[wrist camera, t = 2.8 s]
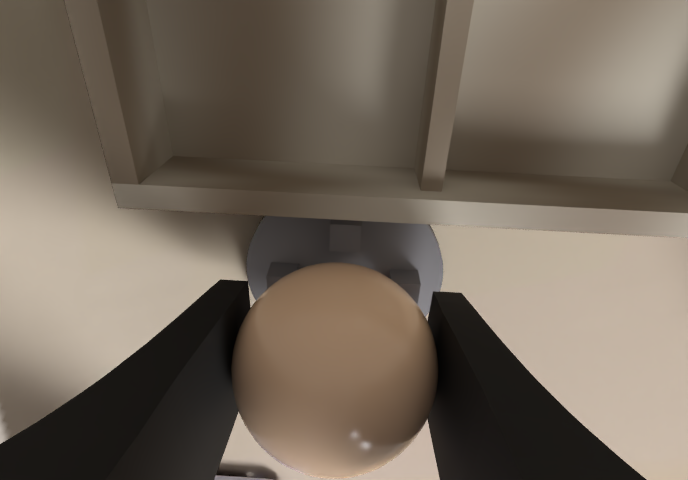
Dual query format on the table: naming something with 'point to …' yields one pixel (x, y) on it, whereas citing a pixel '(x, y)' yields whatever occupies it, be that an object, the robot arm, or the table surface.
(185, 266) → the table surface
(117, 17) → the carton
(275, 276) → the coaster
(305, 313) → the brown egg
